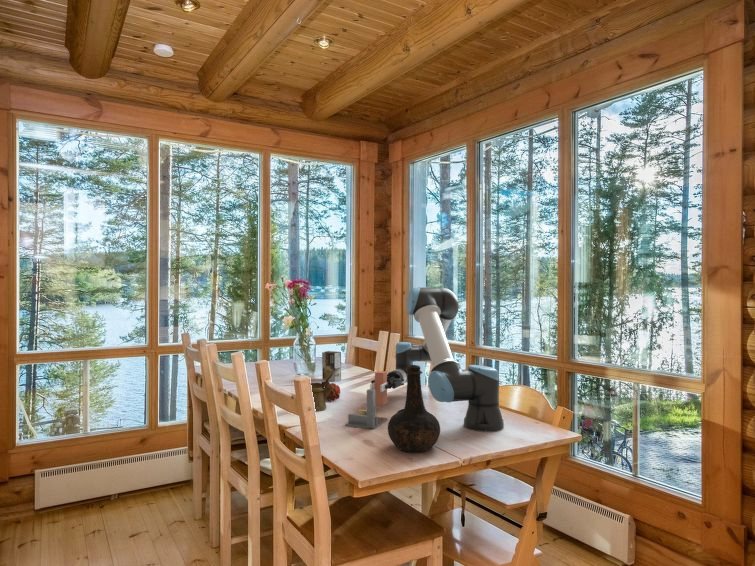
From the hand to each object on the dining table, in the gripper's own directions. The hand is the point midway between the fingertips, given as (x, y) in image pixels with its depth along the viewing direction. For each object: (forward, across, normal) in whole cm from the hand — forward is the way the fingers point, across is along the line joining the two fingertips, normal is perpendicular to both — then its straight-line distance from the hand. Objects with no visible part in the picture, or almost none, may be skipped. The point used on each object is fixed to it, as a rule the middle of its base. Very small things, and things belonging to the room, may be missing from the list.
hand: (376, 388), depth 223 cm
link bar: (-5, 0, -8) cm, 10 cm away
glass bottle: (+38, -30, -11) cm, 50 cm away
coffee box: (-56, +52, -11) cm, 77 cm away
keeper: (+16, -3, -10) cm, 19 cm away
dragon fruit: (-14, +30, -11) cm, 34 cm away
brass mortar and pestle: (+4, +25, -11) cm, 27 cm away
